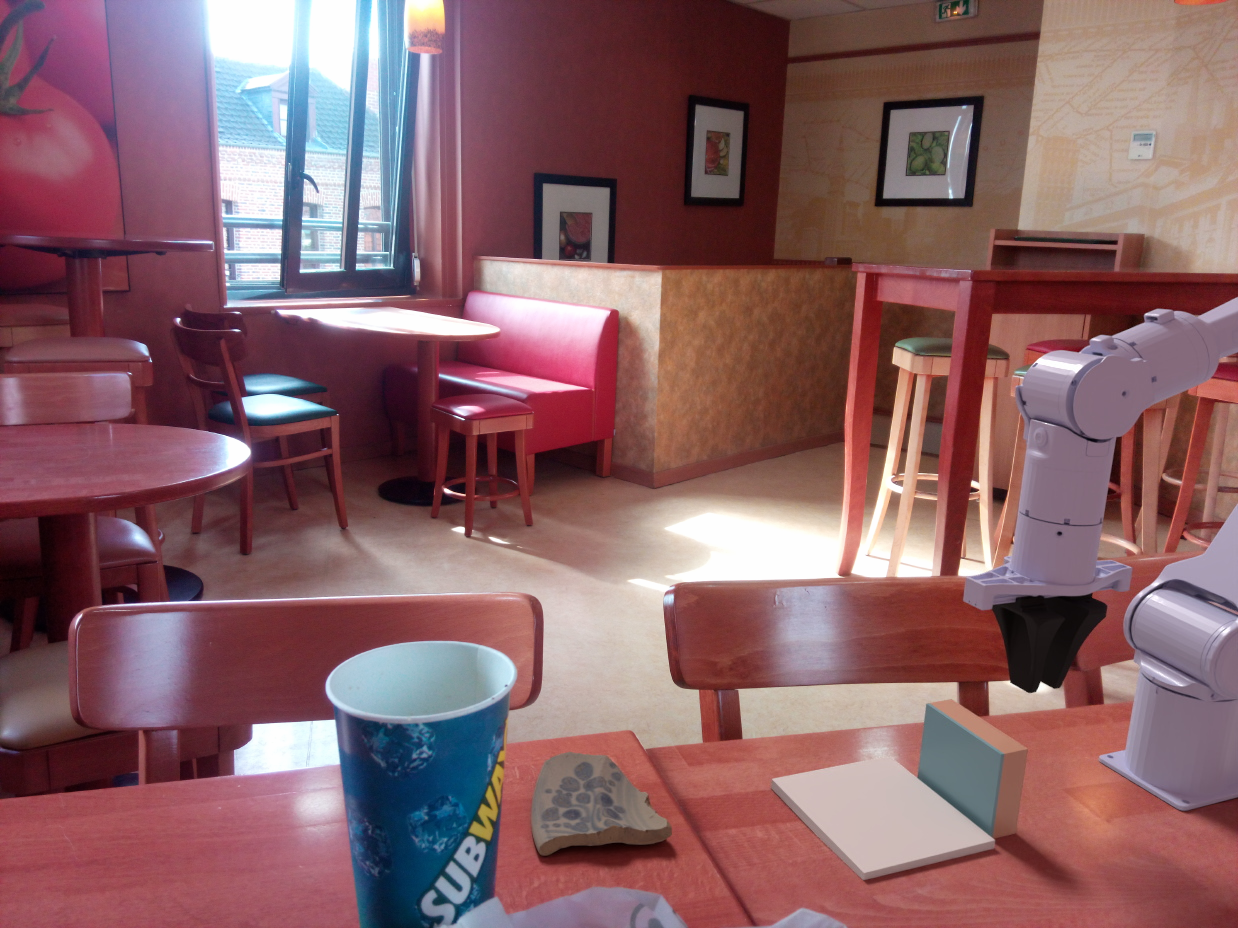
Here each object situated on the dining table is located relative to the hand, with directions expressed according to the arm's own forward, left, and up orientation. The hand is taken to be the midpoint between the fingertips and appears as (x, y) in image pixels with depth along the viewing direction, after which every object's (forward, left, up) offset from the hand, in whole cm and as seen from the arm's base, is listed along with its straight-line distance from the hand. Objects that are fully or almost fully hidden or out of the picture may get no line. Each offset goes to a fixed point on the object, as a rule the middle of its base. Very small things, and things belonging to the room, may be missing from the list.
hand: (1035, 684), depth 71 cm
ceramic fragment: (+28, -6, -9) cm, 30 cm away
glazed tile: (+6, 0, -10) cm, 11 cm away
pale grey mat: (+13, -1, -9) cm, 16 cm away
